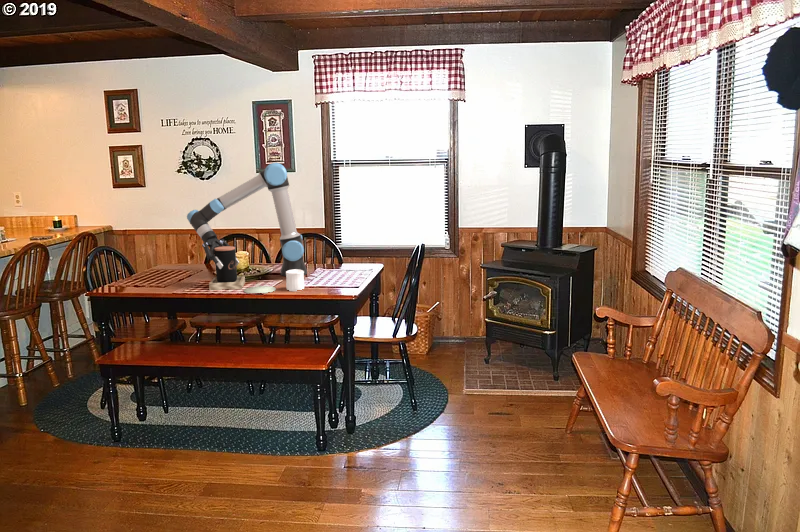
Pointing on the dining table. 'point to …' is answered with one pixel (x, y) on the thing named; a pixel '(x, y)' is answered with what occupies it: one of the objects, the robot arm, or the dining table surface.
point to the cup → (294, 280)
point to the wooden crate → (227, 284)
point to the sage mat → (260, 289)
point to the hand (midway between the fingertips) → (229, 265)
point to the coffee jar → (226, 264)
